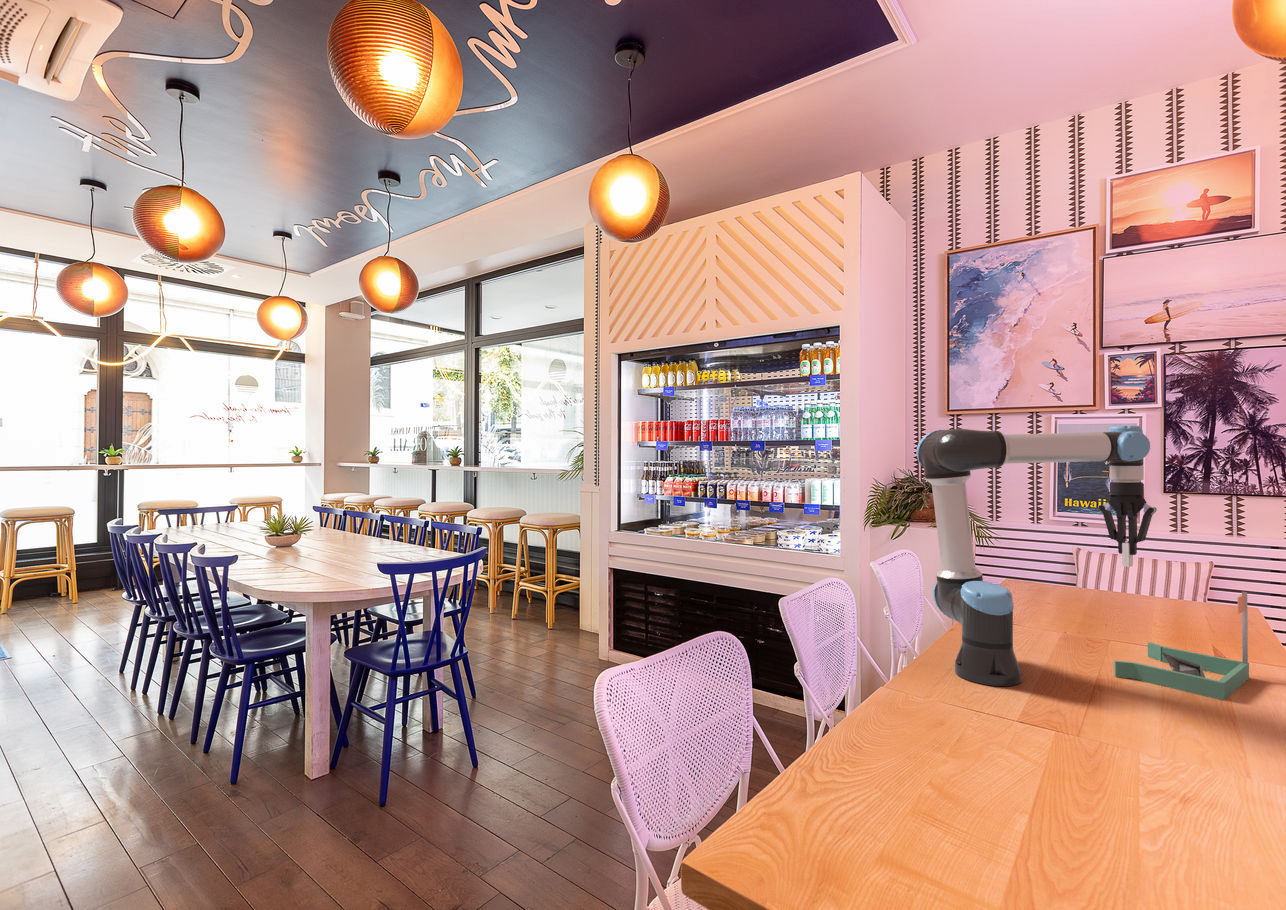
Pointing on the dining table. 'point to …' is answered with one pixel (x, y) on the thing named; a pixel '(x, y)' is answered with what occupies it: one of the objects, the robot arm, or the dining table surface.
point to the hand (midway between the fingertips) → (1127, 566)
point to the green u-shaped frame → (1203, 686)
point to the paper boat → (1184, 666)
